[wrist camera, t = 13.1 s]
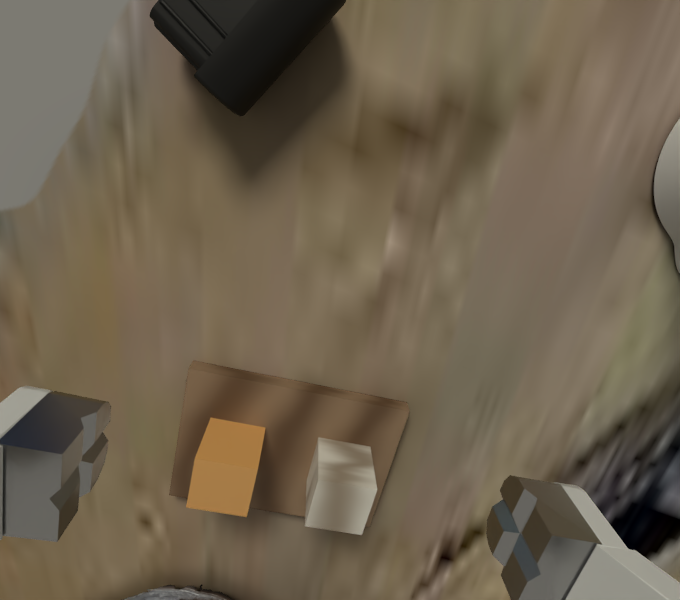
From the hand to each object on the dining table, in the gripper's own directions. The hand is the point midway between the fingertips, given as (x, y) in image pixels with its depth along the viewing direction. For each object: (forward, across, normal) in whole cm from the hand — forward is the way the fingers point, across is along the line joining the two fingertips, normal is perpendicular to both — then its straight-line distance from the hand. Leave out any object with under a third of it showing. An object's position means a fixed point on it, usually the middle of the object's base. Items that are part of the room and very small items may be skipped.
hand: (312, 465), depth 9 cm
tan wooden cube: (+28, +3, +22) cm, 35 cm away
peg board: (+29, -2, +22) cm, 36 cm away
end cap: (+29, +7, -12) cm, 33 cm away
